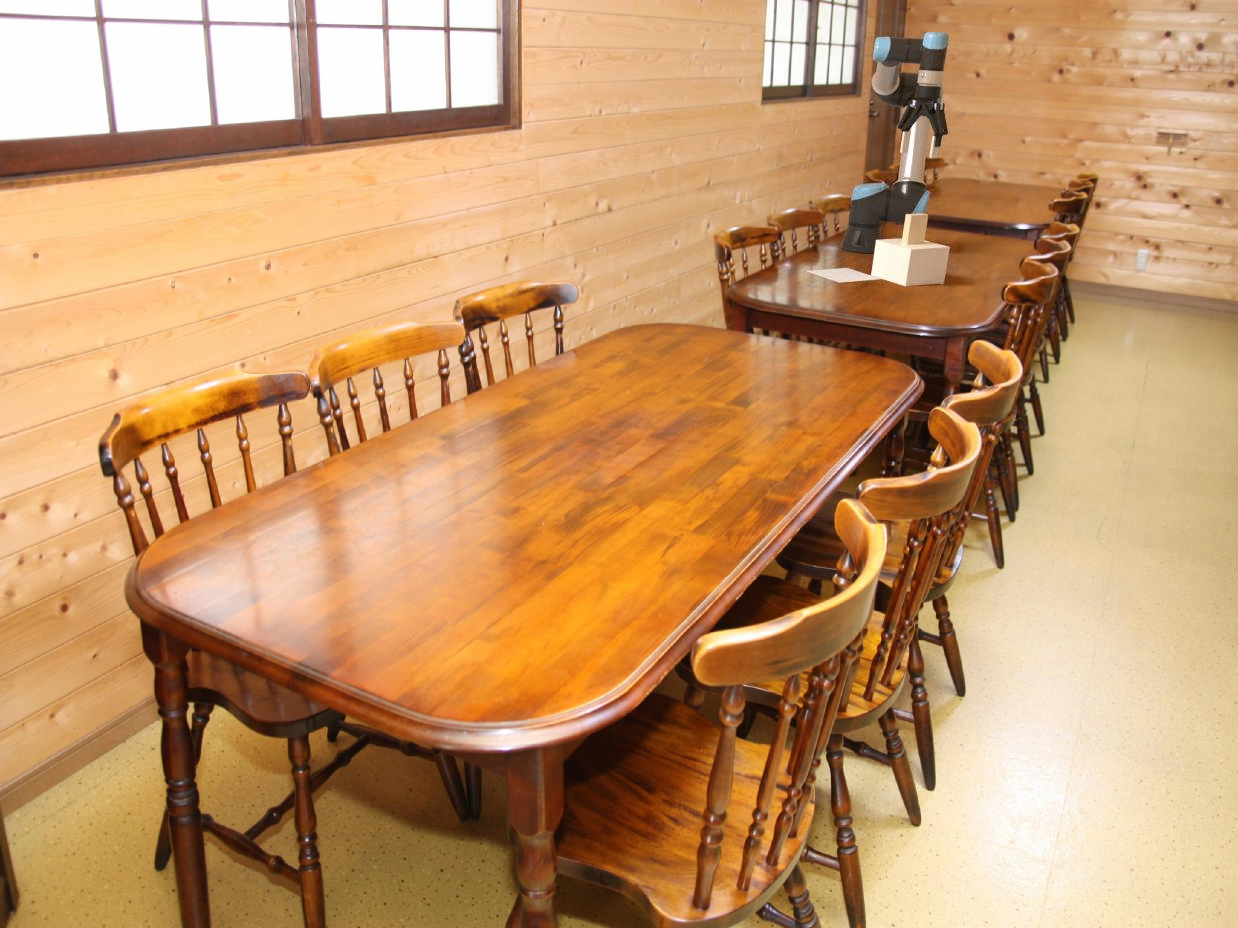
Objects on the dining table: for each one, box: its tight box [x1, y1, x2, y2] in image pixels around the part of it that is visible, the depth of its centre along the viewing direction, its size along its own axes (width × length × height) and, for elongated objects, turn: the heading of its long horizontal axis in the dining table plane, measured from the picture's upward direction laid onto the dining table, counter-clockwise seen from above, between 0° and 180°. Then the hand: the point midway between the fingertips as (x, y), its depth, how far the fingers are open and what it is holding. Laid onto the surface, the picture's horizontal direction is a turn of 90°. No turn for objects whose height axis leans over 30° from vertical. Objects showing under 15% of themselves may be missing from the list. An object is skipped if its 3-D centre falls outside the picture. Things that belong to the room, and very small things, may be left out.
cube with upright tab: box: [870, 213, 951, 287], centre depth 325 cm, size 16×16×21 cm
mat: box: [806, 267, 881, 284], centre depth 330 cm, size 17×17×1 cm
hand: (918, 155), depth 333 cm, fingers open, 13 cm apart
